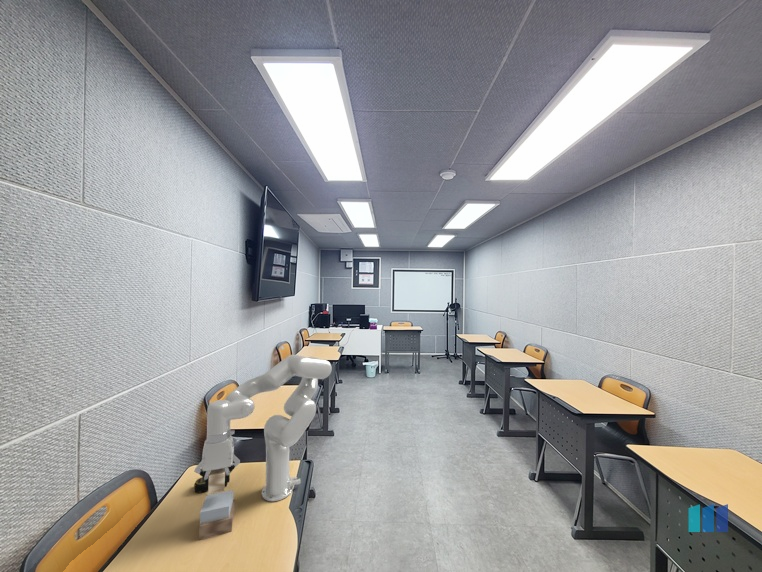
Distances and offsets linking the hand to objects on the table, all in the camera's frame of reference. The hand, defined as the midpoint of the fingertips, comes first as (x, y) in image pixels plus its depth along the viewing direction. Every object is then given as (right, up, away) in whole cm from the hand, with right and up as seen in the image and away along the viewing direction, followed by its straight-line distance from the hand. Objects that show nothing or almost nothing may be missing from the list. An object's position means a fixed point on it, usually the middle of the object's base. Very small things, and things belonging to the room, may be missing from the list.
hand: (217, 485), depth 106 cm
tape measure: (-17, -15, +20) cm, 30 cm away
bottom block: (0, -15, 0) cm, 15 cm away
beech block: (0, -1, 0) cm, 1 cm away
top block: (0, -10, 0) cm, 10 cm away
